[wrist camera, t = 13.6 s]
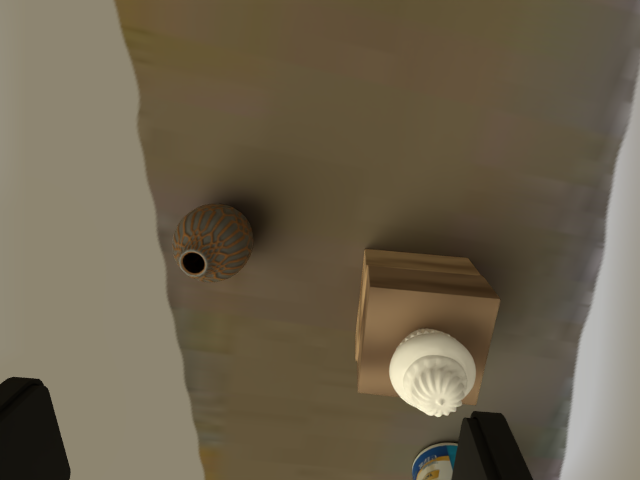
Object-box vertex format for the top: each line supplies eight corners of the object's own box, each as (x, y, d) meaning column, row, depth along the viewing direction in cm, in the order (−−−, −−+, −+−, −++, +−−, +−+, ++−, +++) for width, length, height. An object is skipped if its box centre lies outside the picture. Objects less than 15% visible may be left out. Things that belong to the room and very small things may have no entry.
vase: (271, 216, 40) (249, 246, 31) (244, 273, 42) (217, 315, 34) (206, 184, 39) (166, 206, 31) (182, 244, 41) (139, 279, 33)
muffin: (394, 305, 32) (403, 357, 25) (472, 318, 32) (502, 374, 25) (379, 370, 34) (385, 434, 27) (453, 383, 34) (476, 451, 27)
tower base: (364, 247, 40) (366, 264, 36) (467, 256, 40) (480, 275, 35) (355, 335, 43) (355, 360, 39) (450, 345, 43) (460, 371, 39)
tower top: (368, 265, 36) (370, 286, 32) (482, 275, 35) (500, 299, 31) (357, 361, 39) (357, 392, 35) (462, 372, 39) (475, 405, 34)
